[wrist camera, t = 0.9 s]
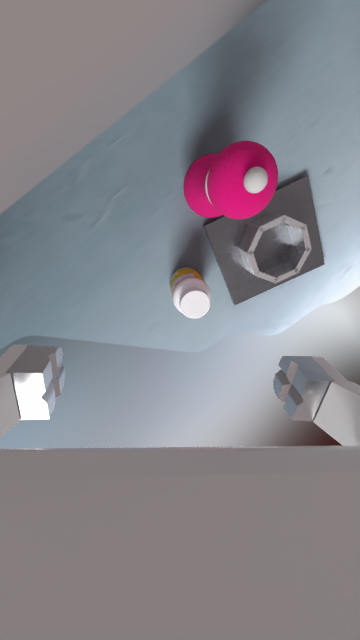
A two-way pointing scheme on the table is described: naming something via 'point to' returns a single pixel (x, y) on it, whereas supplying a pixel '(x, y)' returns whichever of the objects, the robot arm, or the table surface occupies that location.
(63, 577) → the robot arm
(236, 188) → the pepper mill
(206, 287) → the supplement bottle
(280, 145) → the table surface
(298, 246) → the collar
